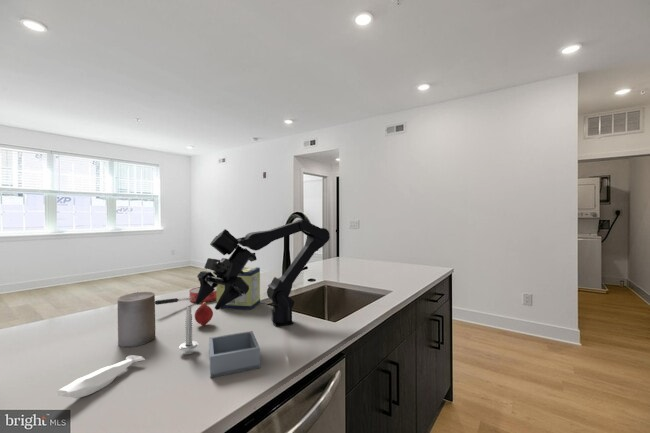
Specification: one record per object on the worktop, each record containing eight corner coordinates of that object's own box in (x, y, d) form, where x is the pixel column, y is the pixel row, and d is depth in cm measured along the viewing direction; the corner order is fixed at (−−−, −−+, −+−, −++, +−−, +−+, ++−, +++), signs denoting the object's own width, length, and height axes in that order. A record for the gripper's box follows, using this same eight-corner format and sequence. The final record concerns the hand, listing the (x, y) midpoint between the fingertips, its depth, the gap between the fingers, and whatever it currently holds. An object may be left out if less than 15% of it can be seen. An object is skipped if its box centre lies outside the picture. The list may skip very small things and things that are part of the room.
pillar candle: (150, 331, 95) (150, 286, 95) (159, 340, 88) (158, 291, 88) (114, 340, 88) (114, 291, 88) (121, 351, 81) (120, 298, 81)
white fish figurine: (50, 407, 57) (50, 387, 57) (127, 364, 75) (127, 349, 75) (73, 411, 56) (73, 390, 56) (145, 366, 74) (146, 350, 74)
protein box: (227, 300, 130) (227, 266, 130) (260, 302, 127) (260, 267, 127) (215, 308, 119) (215, 270, 119) (251, 310, 117) (251, 271, 117)
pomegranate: (206, 329, 97) (206, 305, 97) (190, 327, 98) (191, 304, 98) (216, 323, 103) (216, 300, 103) (201, 321, 104) (201, 299, 104)
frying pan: (176, 319, 106) (176, 302, 106) (147, 316, 109) (147, 299, 109) (225, 295, 137) (225, 282, 137) (201, 294, 140) (201, 281, 140)
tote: (252, 348, 83) (252, 330, 83) (259, 367, 72) (259, 348, 72) (209, 355, 79) (209, 337, 79) (210, 377, 68) (210, 356, 68)
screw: (196, 355, 79) (177, 357, 77) (199, 347, 83) (181, 349, 82) (196, 308, 79) (177, 309, 77) (199, 303, 83) (181, 304, 82)
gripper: (202, 246, 95) (169, 286, 85) (242, 250, 85) (209, 296, 75) (222, 266, 101) (193, 306, 92) (261, 272, 91) (233, 317, 82)
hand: (205, 306), depth 85 cm, fingers open, 9 cm apart
